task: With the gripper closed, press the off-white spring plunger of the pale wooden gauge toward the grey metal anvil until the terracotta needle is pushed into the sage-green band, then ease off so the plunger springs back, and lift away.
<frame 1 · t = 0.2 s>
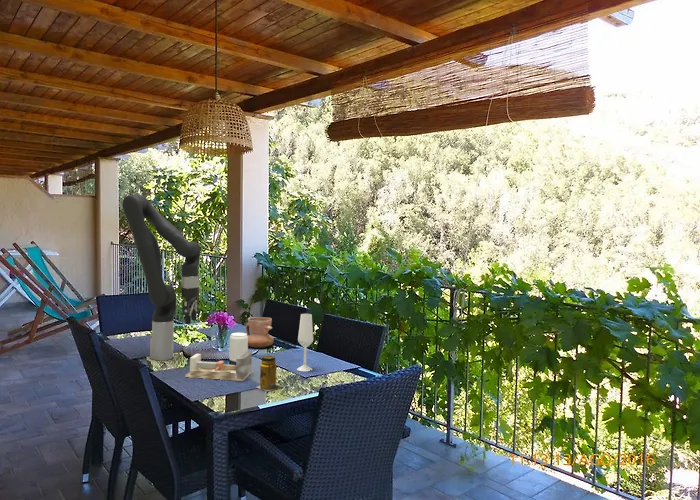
hand: (191, 322, 245), 17 cm above the table, tool pointing down, fingers open, 8 cm apart
ceramic jug: (258, 346, 277), on the table
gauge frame: (218, 375, 225), on the table
condiment: (269, 387, 212), on the table
beverage can: (238, 360, 249), on the table
champagne flute: (304, 369, 238), on the table
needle: (218, 366, 223), point 4 cm above the table, slide at 0.0 cm
plunger: (204, 363, 225), point 5 cm above the table, slide at 0.0 cm
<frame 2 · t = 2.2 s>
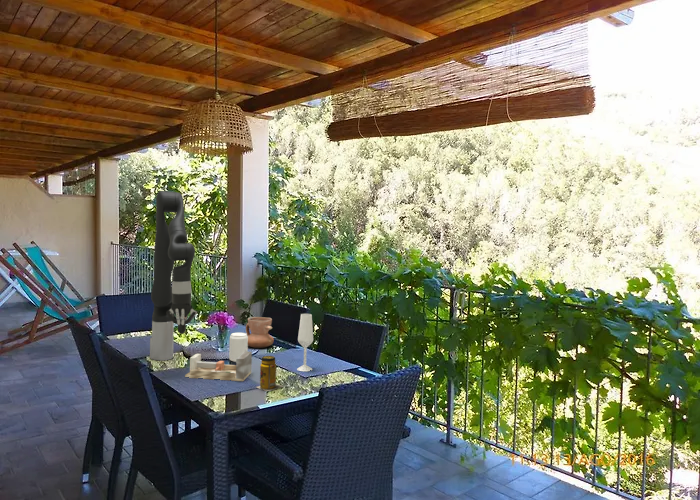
hand: (181, 333, 226), 16 cm above the table, tool pointing down, fingers closed
nothing on the table moved.
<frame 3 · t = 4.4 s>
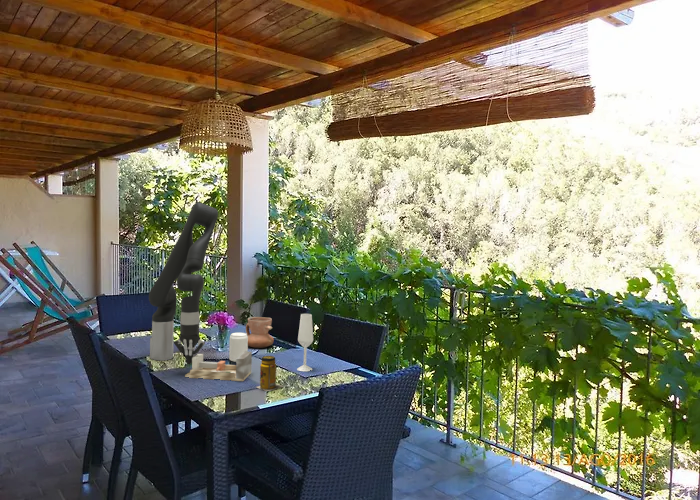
hand: (189, 363, 226), 4 cm above the table, tool pointing down, fingers closed
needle: (219, 366, 223), point 4 cm above the table, slide at 0.4 cm, touching plunger
plunger: (207, 363, 225), point 5 cm above the table, slide at 0.9 cm, touching gripper, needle
everything else where it was.
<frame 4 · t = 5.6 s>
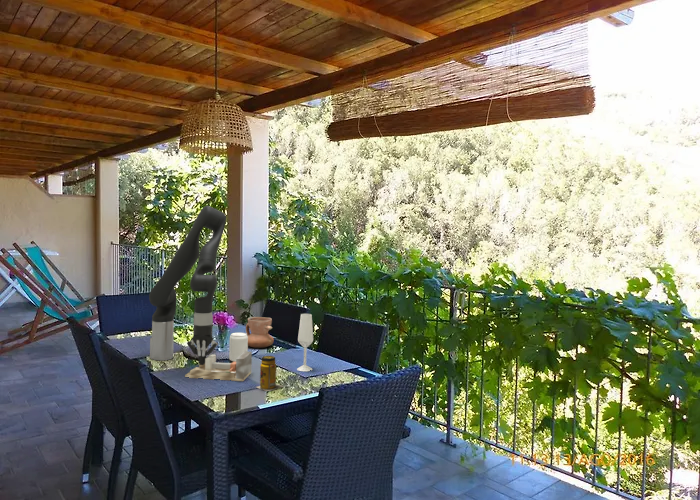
hand: (202, 364, 225), 4 cm above the table, tool pointing down, fingers closed
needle: (232, 367, 223), point 4 cm above the table, slide at 5.9 cm, touching plunger
plunger: (220, 364, 225), point 5 cm above the table, slide at 6.4 cm, touching gripper, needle
everything else where it was.
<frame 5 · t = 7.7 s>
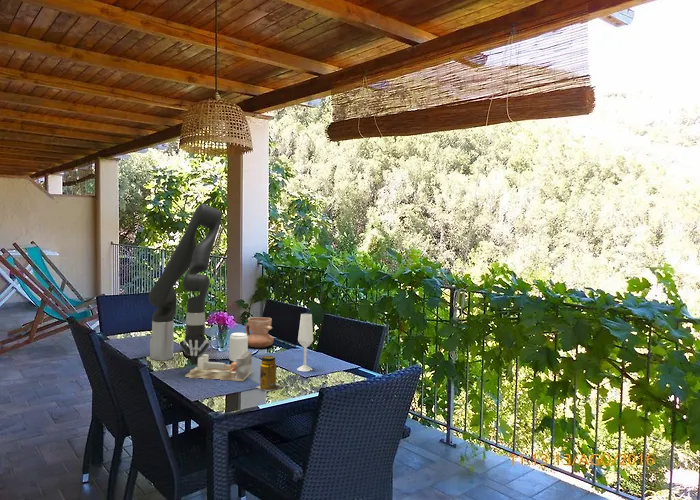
hand: (194, 364, 226), 4 cm above the table, tool pointing down, fingers closed
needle: (233, 367, 223), point 4 cm above the table, slide at 6.1 cm
plunger: (212, 364, 225), point 5 cm above the table, slide at 3.3 cm, touching gripper
everything else where it was.
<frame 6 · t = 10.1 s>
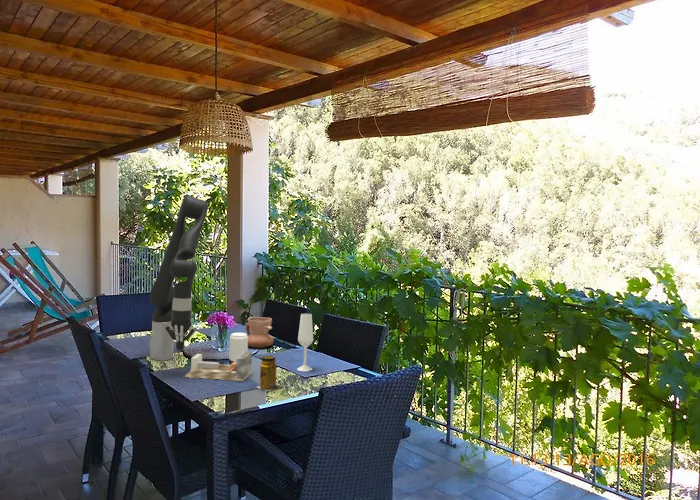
hand: (180, 350, 225), 10 cm above the table, tool pointing down, fingers closed
plunger: (206, 363, 225), point 5 cm above the table, slide at 0.6 cm
everything else where it was.
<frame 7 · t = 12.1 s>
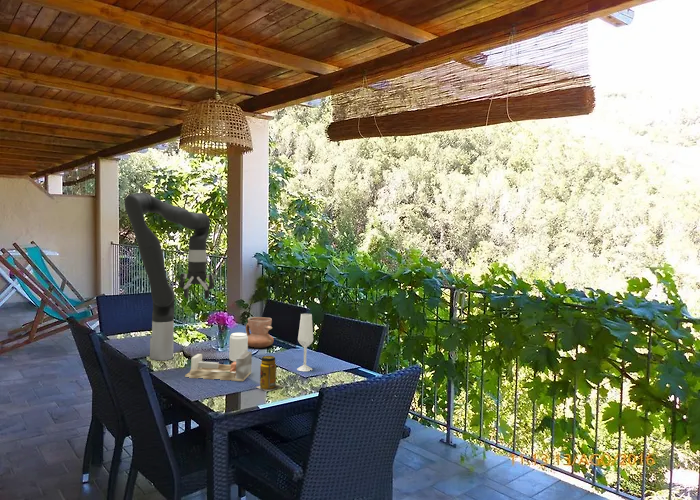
hand: (196, 298, 232), 30 cm above the table, tool pointing down, fingers open, 8 cm apart
nothing on the table moved.
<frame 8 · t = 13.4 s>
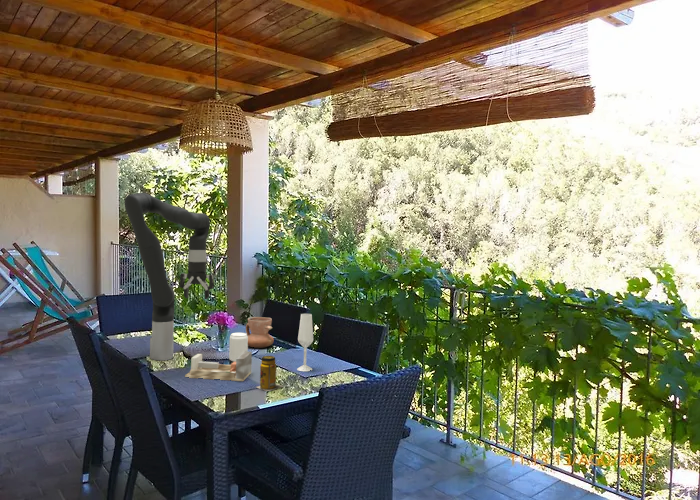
hand: (196, 298, 232), 30 cm above the table, tool pointing down, fingers open, 8 cm apart
nothing on the table moved.
at the end: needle slide at 6.1 cm; plunger slide at 0.6 cm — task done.
